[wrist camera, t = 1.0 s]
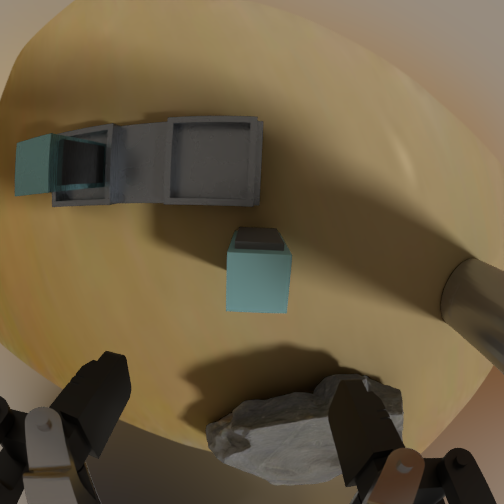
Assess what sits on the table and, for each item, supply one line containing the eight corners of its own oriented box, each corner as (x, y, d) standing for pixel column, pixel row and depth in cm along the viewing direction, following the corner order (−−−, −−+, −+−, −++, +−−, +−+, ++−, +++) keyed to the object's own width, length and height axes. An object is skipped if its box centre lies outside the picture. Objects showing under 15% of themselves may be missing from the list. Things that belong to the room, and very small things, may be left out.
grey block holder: (262, 126, 22) (269, 89, 12) (258, 203, 24) (263, 217, 14) (70, 138, 22) (5, 129, 12) (68, 203, 24) (2, 217, 14)
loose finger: (279, 227, 24) (292, 247, 17) (276, 274, 26) (286, 313, 18) (235, 225, 24) (227, 244, 17) (233, 272, 26) (226, 310, 18)
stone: (413, 464, 25) (257, 513, 27) (395, 429, 33) (256, 475, 35) (418, 368, 20) (174, 446, 22) (384, 327, 28) (187, 395, 30)
